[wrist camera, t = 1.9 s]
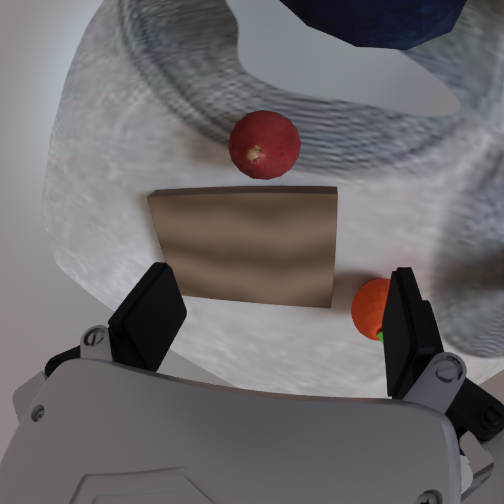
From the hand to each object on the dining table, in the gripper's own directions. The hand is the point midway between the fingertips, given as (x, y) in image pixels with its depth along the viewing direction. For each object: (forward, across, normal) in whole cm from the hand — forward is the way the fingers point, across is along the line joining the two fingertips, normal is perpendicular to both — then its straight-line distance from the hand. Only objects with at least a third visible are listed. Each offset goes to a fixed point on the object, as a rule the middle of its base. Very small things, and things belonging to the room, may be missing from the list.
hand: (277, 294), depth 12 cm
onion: (+18, +3, -3) cm, 19 cm away
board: (+18, +7, +9) cm, 22 cm away
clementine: (+18, -9, +15) cm, 25 cm away
